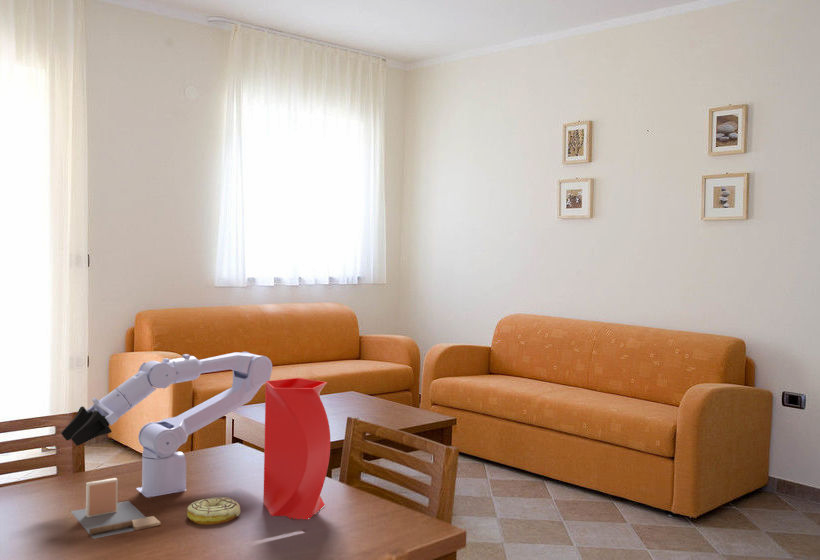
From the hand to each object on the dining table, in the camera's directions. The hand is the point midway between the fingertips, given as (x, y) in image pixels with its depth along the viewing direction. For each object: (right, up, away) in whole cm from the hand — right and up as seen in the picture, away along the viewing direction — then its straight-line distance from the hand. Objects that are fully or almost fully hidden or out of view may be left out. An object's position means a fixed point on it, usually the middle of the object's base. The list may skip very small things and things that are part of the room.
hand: (68, 439), depth 158 cm
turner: (+16, -16, -10) cm, 24 cm away
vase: (+47, -17, +5) cm, 50 cm away
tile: (+8, -15, -2) cm, 17 cm away
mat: (+11, -16, -5) cm, 20 cm away
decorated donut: (+32, -17, -2) cm, 36 cm away
